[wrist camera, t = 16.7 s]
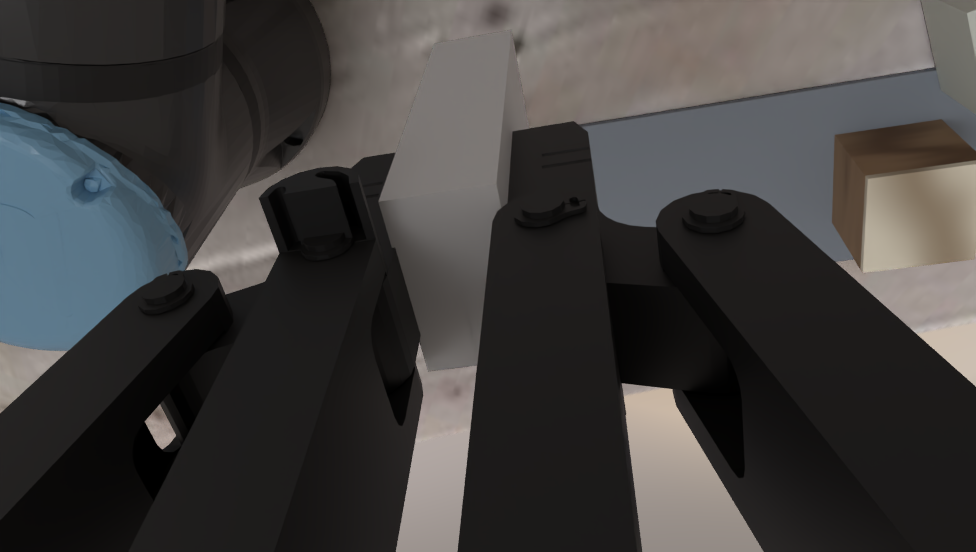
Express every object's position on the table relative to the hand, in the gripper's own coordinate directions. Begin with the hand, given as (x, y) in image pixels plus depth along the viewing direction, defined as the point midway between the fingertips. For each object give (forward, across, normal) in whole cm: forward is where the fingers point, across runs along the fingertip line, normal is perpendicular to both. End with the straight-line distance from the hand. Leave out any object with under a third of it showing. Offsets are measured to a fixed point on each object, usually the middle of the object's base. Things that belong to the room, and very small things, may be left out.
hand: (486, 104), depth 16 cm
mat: (+32, +13, -20) cm, 40 cm away
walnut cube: (+26, +19, -20) cm, 38 cm away
